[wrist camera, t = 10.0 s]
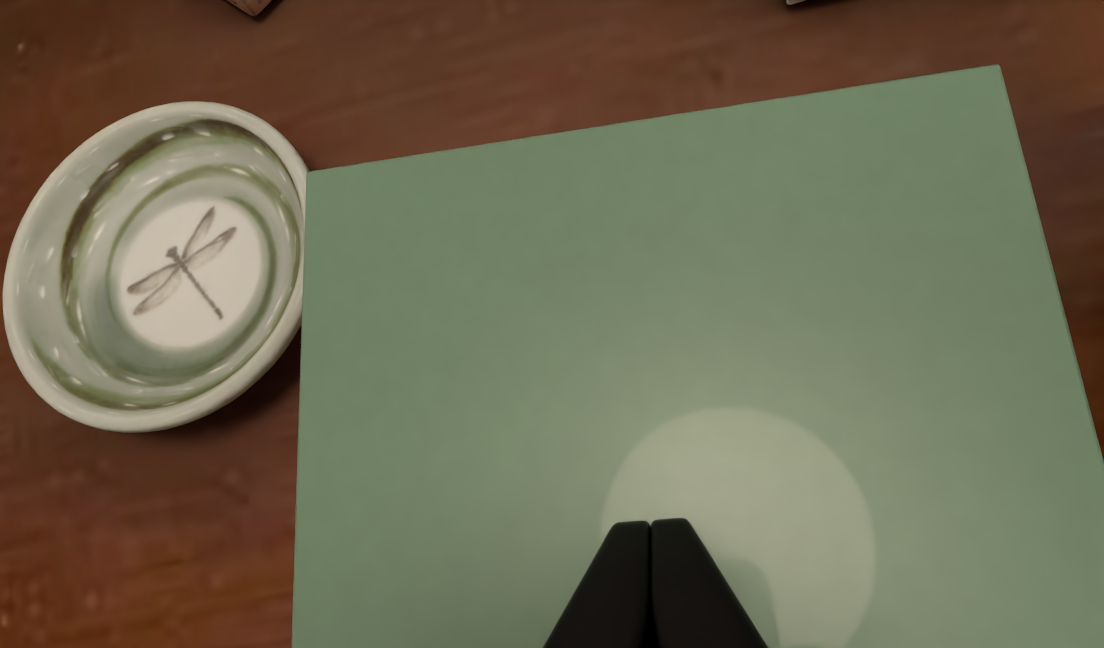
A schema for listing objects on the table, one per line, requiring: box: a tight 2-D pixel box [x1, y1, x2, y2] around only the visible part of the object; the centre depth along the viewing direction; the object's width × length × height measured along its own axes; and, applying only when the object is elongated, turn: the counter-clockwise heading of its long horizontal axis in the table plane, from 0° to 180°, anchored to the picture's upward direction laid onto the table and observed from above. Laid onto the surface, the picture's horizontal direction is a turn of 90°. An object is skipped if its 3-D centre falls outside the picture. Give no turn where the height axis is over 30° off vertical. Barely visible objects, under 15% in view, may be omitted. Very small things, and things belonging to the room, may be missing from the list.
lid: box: [292, 65, 1104, 648], centre depth 13 cm, size 10×12×1 cm
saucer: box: [3, 101, 309, 433], centre depth 22 cm, size 10×10×2 cm
